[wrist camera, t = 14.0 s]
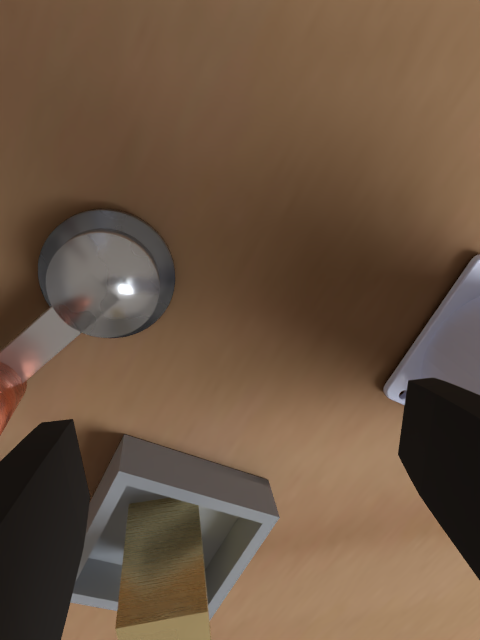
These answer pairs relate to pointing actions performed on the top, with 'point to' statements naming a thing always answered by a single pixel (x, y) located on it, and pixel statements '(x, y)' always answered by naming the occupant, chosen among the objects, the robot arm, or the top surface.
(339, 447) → the top surface
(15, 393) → the crank
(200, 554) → the block
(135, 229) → the bearing
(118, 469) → the tray
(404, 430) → the robot arm
